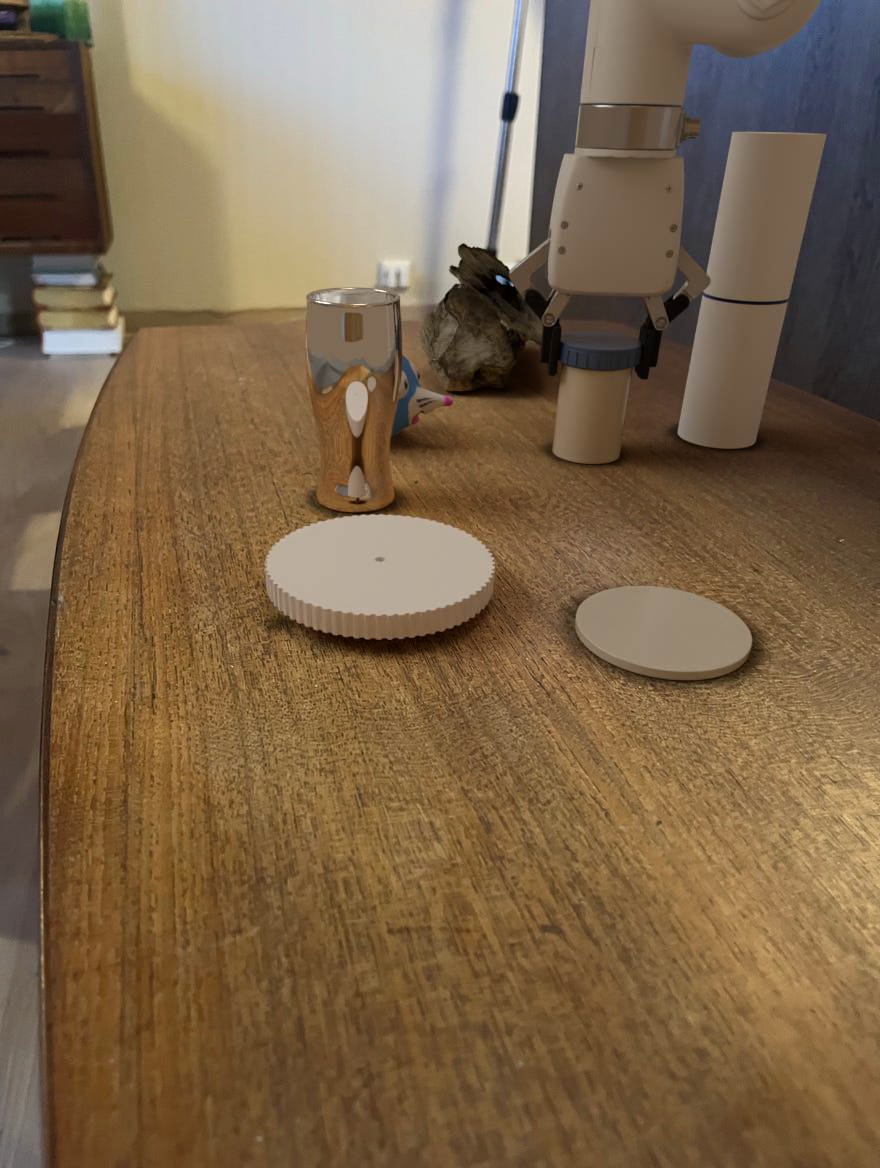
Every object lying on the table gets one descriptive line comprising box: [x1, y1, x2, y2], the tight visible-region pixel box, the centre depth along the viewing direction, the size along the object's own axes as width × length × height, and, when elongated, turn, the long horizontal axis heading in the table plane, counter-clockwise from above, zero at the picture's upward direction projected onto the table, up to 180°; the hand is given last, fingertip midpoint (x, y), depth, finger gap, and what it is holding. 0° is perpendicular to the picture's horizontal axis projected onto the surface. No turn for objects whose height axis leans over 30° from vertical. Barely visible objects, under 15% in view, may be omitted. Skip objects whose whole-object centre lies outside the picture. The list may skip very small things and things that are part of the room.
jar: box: [551, 362, 634, 465], centre depth 77 cm, size 6×6×9 cm
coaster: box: [574, 585, 753, 681], centre depth 52 cm, size 10×10×1 cm
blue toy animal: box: [391, 354, 454, 438], centre depth 79 cm, size 12×12×8 cm
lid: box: [558, 330, 643, 370], centre depth 74 cm, size 7×7×2 cm
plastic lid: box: [264, 513, 496, 641], centre depth 54 cm, size 14×14×2 cm
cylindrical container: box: [677, 131, 827, 450], centre depth 77 cm, size 7×7×25 cm
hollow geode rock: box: [419, 242, 543, 392], centre depth 102 cm, size 28×13×15 cm
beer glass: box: [304, 286, 403, 514], centre depth 65 cm, size 7×7×15 cm
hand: (595, 372), depth 75 cm, fingers closed on lid, 7 cm apart
